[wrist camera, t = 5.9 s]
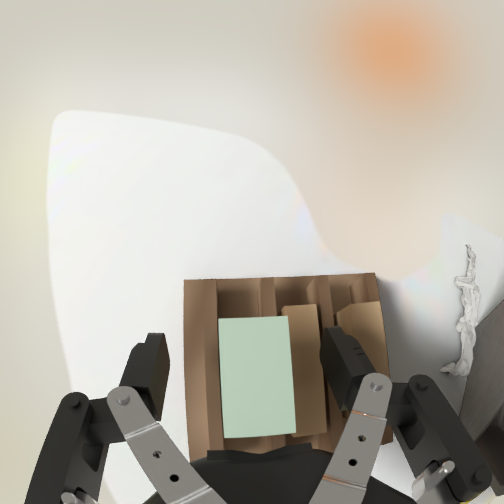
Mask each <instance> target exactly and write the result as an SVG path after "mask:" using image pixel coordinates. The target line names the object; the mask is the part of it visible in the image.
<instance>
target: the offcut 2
mask: <svg viewBox="0 0 504 504" xmlns="http://www.w3.org/2000/svg"><path fill="white" fill-rule="evenodd" d="M333 318H334V326H340V327H341V328H342V330H343V331H344V333H345V335H351V336H353V337H354V338H355V339H357V340H358V342H359V343H360V345H361V347H362V349H363V350H364V351H365V354H366V355H367V356H368V358H369V360H370V361H371V363H372V365H373V366H374V368H375V370H376V371H377V373H380V374H383V375H385V376H387V377H388V378H389V379H390V377H389V366H388V357H387V348H386V340H385V332H384V325H383V318H382V312H381V305H380V301H376V302H366V303H356V304H350V305H348V306H347V307H345V308H344V309H342V310H341V311H339V312H337V313H336V314H334V315H333ZM349 414H350V413H349V411H348V410H344V411H342V417H344V418H347V419H348V417H349Z"/></svg>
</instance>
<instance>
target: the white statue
mask: <svg viewBox="0 0 504 504" xmlns="http://www.w3.org/2000/svg"><path fill="white" fill-rule="evenodd" d="M467 246H468V254H469V257H470V259H468V260H469V261H470V262H469V265H468V269H467V277H456V278H455V279H456V281H455V282H456V283H455V285H456V286H457V287H458V288H461V289H463V295H462V296H461V302H462V305H463V306H464V308H465V311H464V316H463V317H461V318H460V319H459V323H458V325H457V327H456V328H457V330H458V332H462V333H461V342H462V354H461V356H460V357H461V358H460V359H459V361H458V362H457V363H456V364H455V363H454V362H452V363H450V364H448V365H446V366H444V367H442V368H441V369H440V372H449V374H454V375H456V376H458V375H462V376H466V375H468V374H469V372H470V368H471V365H472V360H473V350H472V349H473V347H474V345H475V342H476V333H475V327H476V326H477V325H478V322H477V308H478V304H479V301H480V293H479V288H478V286H477V285H476V284H475V283H474V276H475V266H474V263H475V258H476V257H475V254H474V252H473V251H471V247H470V245H467ZM466 281H467V282H466ZM464 302H465V304H464ZM449 374H448V375H449Z"/></svg>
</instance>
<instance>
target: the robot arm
mask: <svg viewBox="0 0 504 504" xmlns="http://www.w3.org/2000/svg"><path fill="white" fill-rule="evenodd" d="M319 357H320V363H321V365H322V368H323V370H324V373H325V375H326V377H327V380H328V382H329V385H330V387H331V390H332V392H333V395H334V397H335V400H336V402H337V405H338V407H339V410H340V411H344V410H348V411H349V413H350V414H349V417H348V419H347V422H346V424H345V427H344V429H343V432H342V434H341V436H340V439H339V441H338V443H337V445H336V448H335V450H334V452H333V453H331V452H328V451H325V450H320V449H313V448H312V444H311V442H310V443H303V444H296V445H288V446H284V447H281V448H278V449H275V450H272V451H269V452H265V453H262V454H257V453H250V452H243V451H237V450H207V457H203V458H200V459H197V460H194V461H192V462H190V463H189V462H188V461H187V460H186V458H185V457H184V456H183V454H182V453H181V452H180V451H179V449H178V448H177V447H176V445H175V444H174V443H173V441H172V440H171V439H170V437H169V436H168V434H167V433H166V432H165V430H164V429H163V427H162V426H161V425H160V424H159V423H157V422H156V421H161V416H162V410H163V404H164V398H165V392H166V386H167V381H168V375H169V370H170V358H169V353H168V348H167V343H166V338H165V334H164V333H148V335H147V338H146V341H145V343H138V344H137V345H136V346H135V347H134V348H133V349H132V350H131V353H130V356H129V359H128V361H127V365H126V367H125V370H124V373H123V376H122V378H121V381H120V384H119V387H117V388H114V389H113V390H112V391H110V392H109V394H108V396H107V397H106V398H101V399H93V400H89V399H88V397H87V396H86V395H85V394H83V393H80V392H73V393H69V394H67V395H66V396H65V397H64V398H63V399H62V401H61V403H60V405H59V407H58V410H57V412H56V414H55V417H54V419H53V421H52V424H51V427H50V429H49V432H48V434H47V436H46V439H45V442H44V445H43V447H42V450H41V452H40V455H39V458H38V461H37V464H36V467H35V470H34V473H33V476H32V479H31V482H30V485H29V489H28V492H27V496H26V499H25V503H24V504H99V503H97V502H98V496H99V491H100V486H101V481H102V476H103V471H104V466H105V462H106V457H107V453H108V448H109V444H110V443H117V442H124V441H127V443H128V445H129V447H130V449H131V450H132V452H133V454H134V455H135V457H136V459H137V461H138V462H139V464H140V465H141V467H142V469H143V470H144V472H145V473H146V475H147V477H148V478H149V480H150V481H151V483H152V484H153V486H154V487H155V489H156V490H157V492H155V493H154V494H153V495H152V496H151V497H150V498H149V499H148V500H146V501H145V502H144V503H143V504H467V503H469V502H470V501H471V500H473V499H474V498H476V497H477V496H478V495H480V494H481V493H482V492H483V491H485V490H486V489H487V488H488V487H489V486H490V484H491V482H492V471H491V469H490V468H489V466H488V464H487V462H486V461H485V459H484V457H483V456H482V454H481V452H480V451H479V449H478V447H477V446H476V444H475V442H474V441H473V439H472V438H471V436H470V434H469V433H468V431H467V430H466V428H465V427H464V425H463V423H462V422H461V420H460V419H459V417H458V416H457V414H456V413H455V411H454V410H453V408H452V407H451V405H450V404H449V402H448V401H447V399H446V398H445V397H444V395H443V394H442V392H441V391H440V389H439V388H438V386H437V385H436V384H435V382H434V381H433V380H432V379H431V378H430V377H428V376H426V375H414V376H412V377H411V378H410V380H409V382H408V383H393V382H391V380H390V379H389V378H388V377H387V376H385V375H383V374H380V373H377V371H376V370H375V368H374V366H373V365H372V363H371V361H370V360H369V358H368V356H367V355H366V354H365V351H364V350H363V349H362V347H361V345H360V343H359V342H358V340H357V339H355V338H354V337H353V336H351V335H345V333H344V331H343V330H342V328H341V327H340V326H333V327H325V328H324V330H323V335H322V341H321V346H320V352H319ZM385 426H391V427H392V429H393V431H394V433H395V435H396V438H397V440H398V442H399V444H400V446H401V448H402V450H403V452H404V454H405V457H406V459H407V461H408V463H409V465H410V467H411V470H412V472H413V474H414V476H415V478H416V479H415V480H414V482H413V484H412V497H413V499H412V498H411V497H409V496H407V495H405V494H403V493H401V492H399V491H397V490H395V489H394V488H392V487H390V486H388V485H386V484H384V483H383V482H381V481H379V480H377V479H376V478H374V477H372V476H370V474H371V472H372V469H373V466H374V463H375V460H376V457H377V453H378V450H379V447H380V443H381V440H382V437H383V433H384V429H385Z"/></svg>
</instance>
